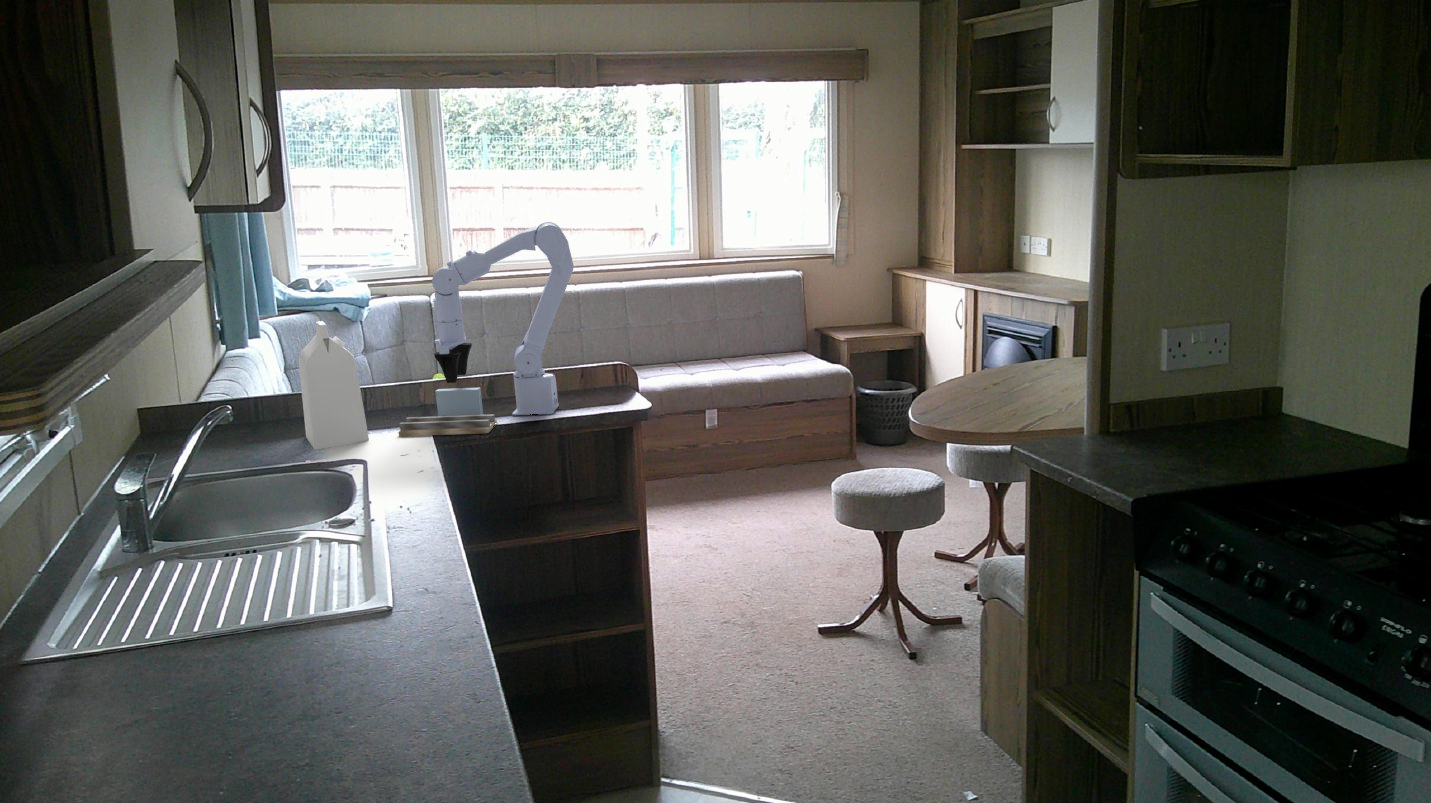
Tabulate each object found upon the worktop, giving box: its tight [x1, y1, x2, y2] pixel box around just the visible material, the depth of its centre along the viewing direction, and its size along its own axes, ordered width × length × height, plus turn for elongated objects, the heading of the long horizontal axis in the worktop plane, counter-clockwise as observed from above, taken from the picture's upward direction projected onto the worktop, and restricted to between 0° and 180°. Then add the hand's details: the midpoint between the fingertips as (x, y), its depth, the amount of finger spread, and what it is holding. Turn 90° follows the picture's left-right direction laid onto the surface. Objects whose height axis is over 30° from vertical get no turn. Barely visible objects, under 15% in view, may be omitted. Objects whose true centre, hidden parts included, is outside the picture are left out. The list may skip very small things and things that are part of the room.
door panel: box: [434, 387, 484, 416], centre depth 264 cm, size 10×2×7 cm, turn 86°
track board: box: [397, 414, 498, 437], centre depth 255 cm, size 20×8×2 cm, turn 86°
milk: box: [298, 320, 370, 450], centre depth 250 cm, size 12×12×26 cm
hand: (456, 378), depth 262 cm, fingers open, 7 cm apart
